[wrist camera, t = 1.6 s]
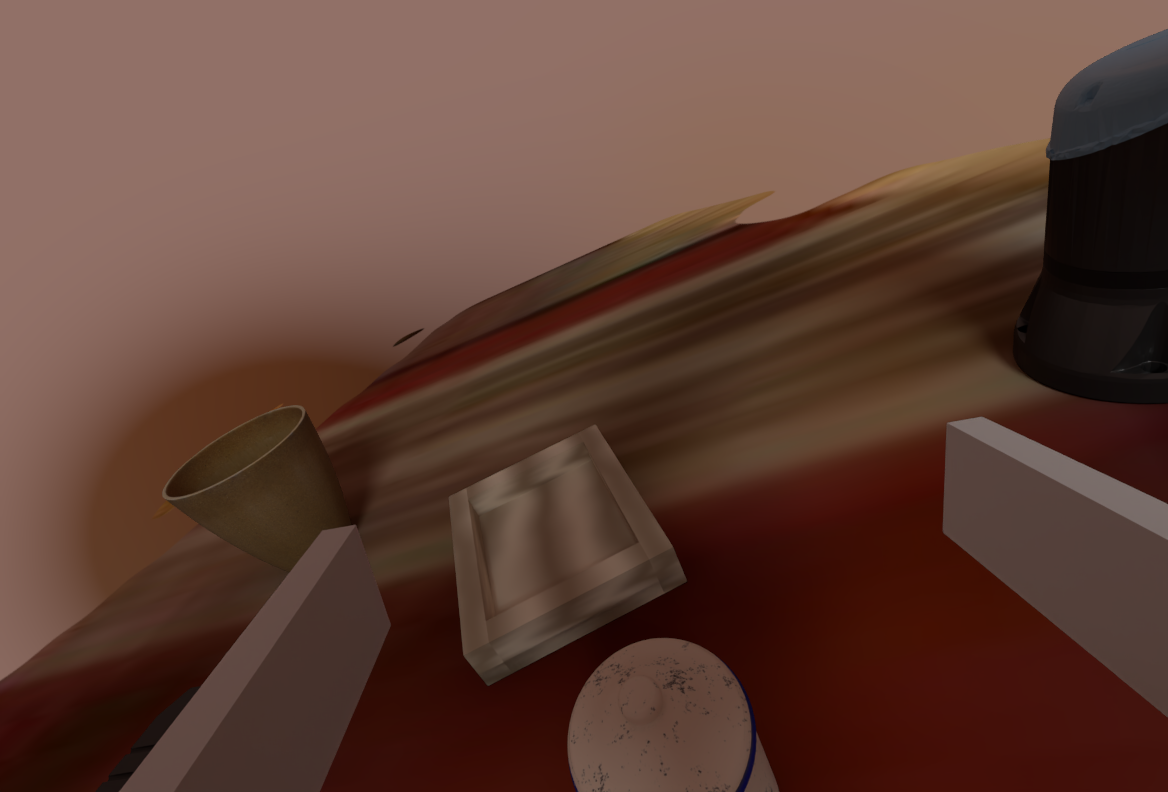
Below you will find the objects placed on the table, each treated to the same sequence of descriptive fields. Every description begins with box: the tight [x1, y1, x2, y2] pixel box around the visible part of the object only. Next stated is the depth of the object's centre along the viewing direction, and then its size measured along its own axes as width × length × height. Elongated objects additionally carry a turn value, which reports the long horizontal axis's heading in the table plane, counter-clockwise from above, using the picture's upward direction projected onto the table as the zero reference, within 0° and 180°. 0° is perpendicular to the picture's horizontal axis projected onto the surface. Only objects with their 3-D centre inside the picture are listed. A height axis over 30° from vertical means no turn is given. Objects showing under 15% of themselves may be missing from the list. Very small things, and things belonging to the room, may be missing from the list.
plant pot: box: [162, 405, 351, 572], centre depth 60 cm, size 15×15×16 cm
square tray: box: [449, 425, 687, 686], centre depth 49 cm, size 17×20×4 cm
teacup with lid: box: [568, 638, 779, 792], centre depth 26 cm, size 12×9×12 cm
